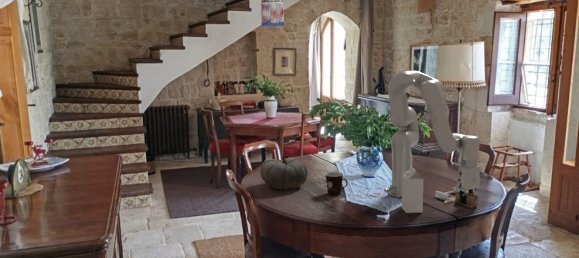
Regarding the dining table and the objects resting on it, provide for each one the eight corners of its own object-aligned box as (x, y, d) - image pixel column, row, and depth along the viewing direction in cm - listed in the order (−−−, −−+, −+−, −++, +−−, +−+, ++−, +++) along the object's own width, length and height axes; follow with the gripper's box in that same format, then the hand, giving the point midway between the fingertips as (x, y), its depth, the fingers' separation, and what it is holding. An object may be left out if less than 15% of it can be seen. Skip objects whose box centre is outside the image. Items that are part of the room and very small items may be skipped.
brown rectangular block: (471, 208, 193) (471, 197, 192) (455, 202, 201) (455, 191, 200) (477, 206, 194) (478, 195, 193) (461, 200, 202) (462, 190, 201)
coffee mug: (322, 192, 220) (322, 173, 218) (338, 190, 223) (338, 171, 221) (333, 199, 209) (333, 178, 208) (349, 196, 212) (349, 176, 211)
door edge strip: (445, 204, 199) (445, 201, 199) (444, 203, 200) (444, 201, 200) (473, 197, 207) (473, 195, 207) (471, 197, 208) (471, 195, 208)
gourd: (248, 181, 231) (254, 150, 229) (282, 179, 249) (287, 150, 247) (280, 196, 214) (287, 162, 212) (314, 193, 232) (320, 161, 230)
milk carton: (417, 207, 195) (418, 166, 192) (422, 213, 188) (423, 170, 185) (401, 207, 195) (402, 166, 192) (406, 213, 188) (407, 170, 185)
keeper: (447, 201, 203) (448, 195, 202) (434, 196, 210) (434, 190, 209) (467, 197, 208) (467, 191, 208) (454, 192, 216) (454, 186, 215)
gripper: (462, 167, 187) (459, 208, 190) (488, 163, 195) (485, 202, 198) (448, 163, 194) (446, 203, 197) (474, 159, 201) (472, 197, 204)
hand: (466, 202), depth 197 cm, fingers closed on brown rectangular block, 4 cm apart
